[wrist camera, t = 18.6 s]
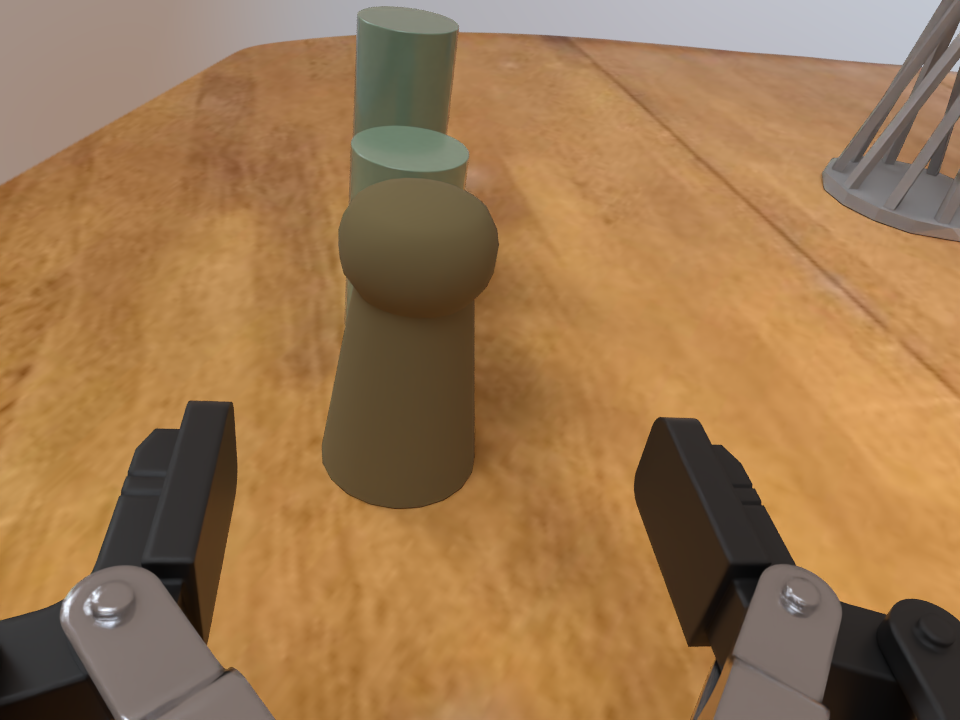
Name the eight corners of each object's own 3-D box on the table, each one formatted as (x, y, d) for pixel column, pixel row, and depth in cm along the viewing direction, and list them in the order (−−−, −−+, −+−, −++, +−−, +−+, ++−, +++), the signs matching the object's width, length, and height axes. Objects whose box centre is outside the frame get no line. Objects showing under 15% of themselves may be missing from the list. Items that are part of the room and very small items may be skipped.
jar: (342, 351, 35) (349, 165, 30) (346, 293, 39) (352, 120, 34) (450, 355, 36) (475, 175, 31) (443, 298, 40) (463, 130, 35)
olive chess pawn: (412, 534, 27) (446, 263, 21) (287, 455, 30) (283, 189, 23) (502, 447, 32) (553, 199, 25) (387, 384, 34) (407, 142, 28)
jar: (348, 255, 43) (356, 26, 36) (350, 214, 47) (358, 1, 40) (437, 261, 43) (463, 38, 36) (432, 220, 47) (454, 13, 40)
